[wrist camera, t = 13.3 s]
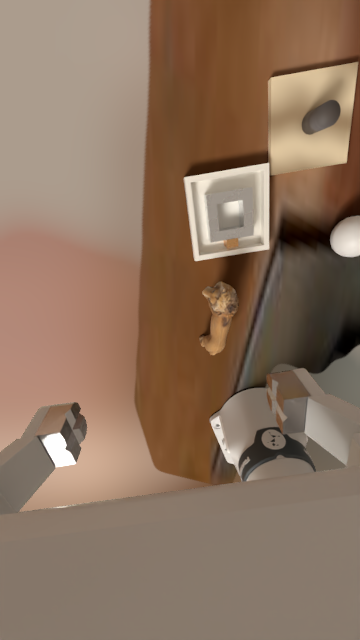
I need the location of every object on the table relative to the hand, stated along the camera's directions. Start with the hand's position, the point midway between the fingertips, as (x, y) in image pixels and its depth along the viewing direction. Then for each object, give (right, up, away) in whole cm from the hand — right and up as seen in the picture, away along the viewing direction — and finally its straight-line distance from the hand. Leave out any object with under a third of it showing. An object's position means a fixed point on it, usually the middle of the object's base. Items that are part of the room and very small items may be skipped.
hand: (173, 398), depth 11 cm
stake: (+16, +28, +22) cm, 39 cm away
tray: (+7, +19, +26) cm, 33 cm away
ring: (+7, +18, +25) cm, 32 cm away
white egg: (+25, +17, +28) cm, 41 cm away
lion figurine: (+6, +5, +33) cm, 34 cm away
